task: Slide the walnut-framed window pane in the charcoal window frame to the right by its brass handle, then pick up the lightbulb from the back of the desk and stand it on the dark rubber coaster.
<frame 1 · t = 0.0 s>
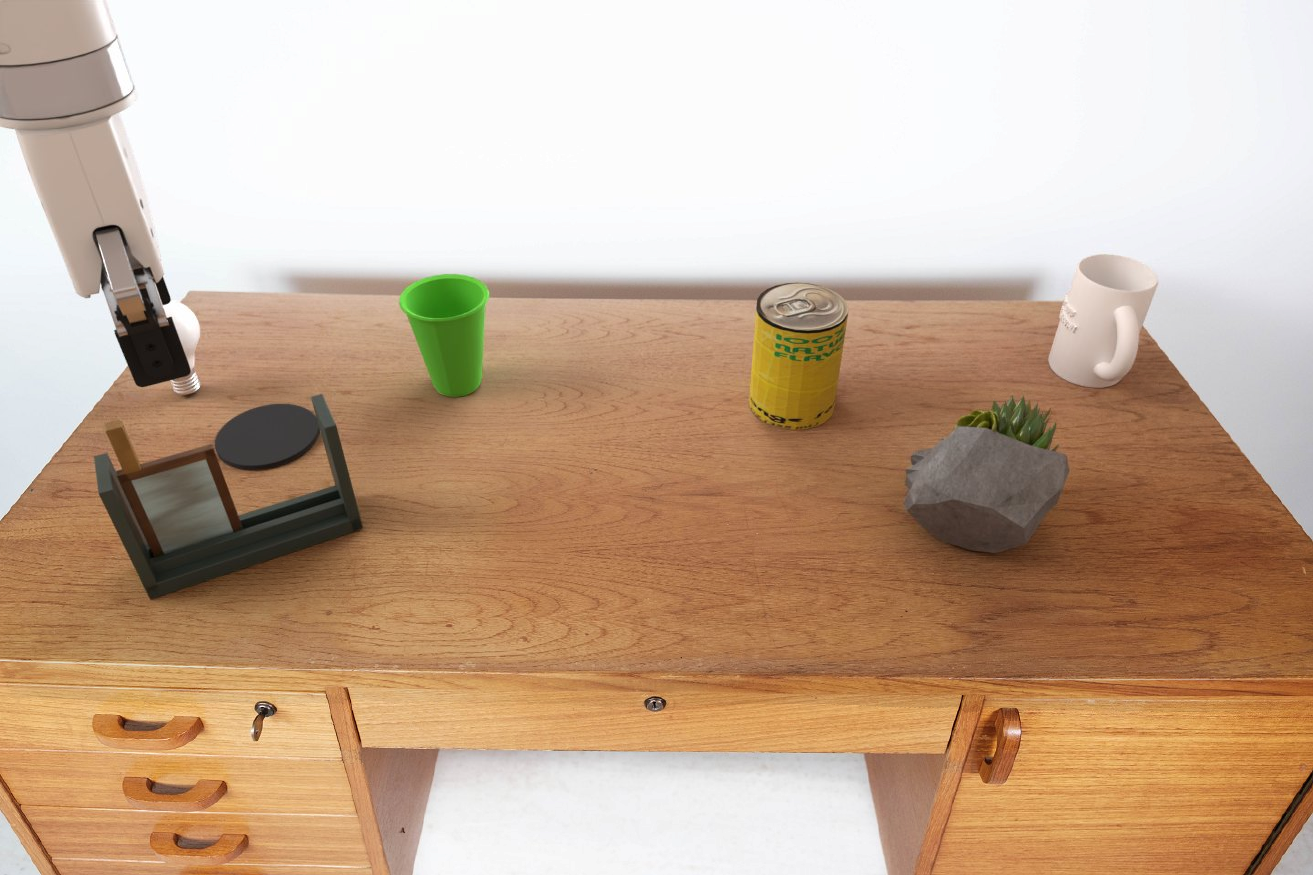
hand: (155, 341, 64), 26 cm above the table, tool pointing down, fingers open, 9 cm apart
mug: (1089, 379, 106), on the table
cup: (458, 385, 105), on the table
window sash: (175, 485, 79), point 9 cm above the table, slide at 0.0 cm
lightbulb: (189, 393, 104), on the table
beverage can: (791, 404, 102), on the table
window frame: (255, 544, 86), on the table
coaster: (268, 437, 98), on the table
potted plant: (971, 516, 89), on the table
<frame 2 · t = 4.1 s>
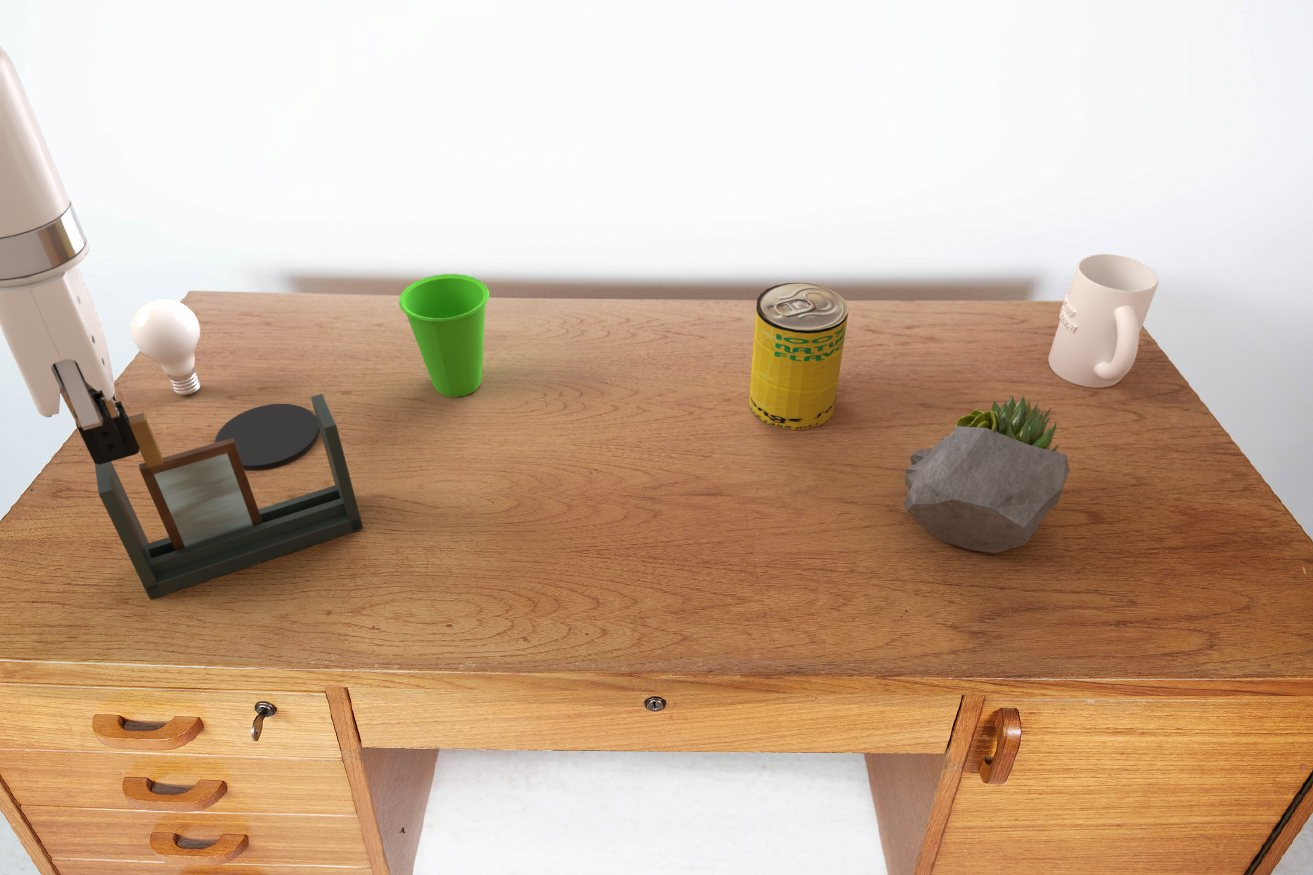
hand: (117, 453, 75), 13 cm above the table, tool pointing down, fingers closed
window sash: (197, 479, 79), point 9 cm above the table, slide at 1.7 cm, touching gripper
everything else where it was.
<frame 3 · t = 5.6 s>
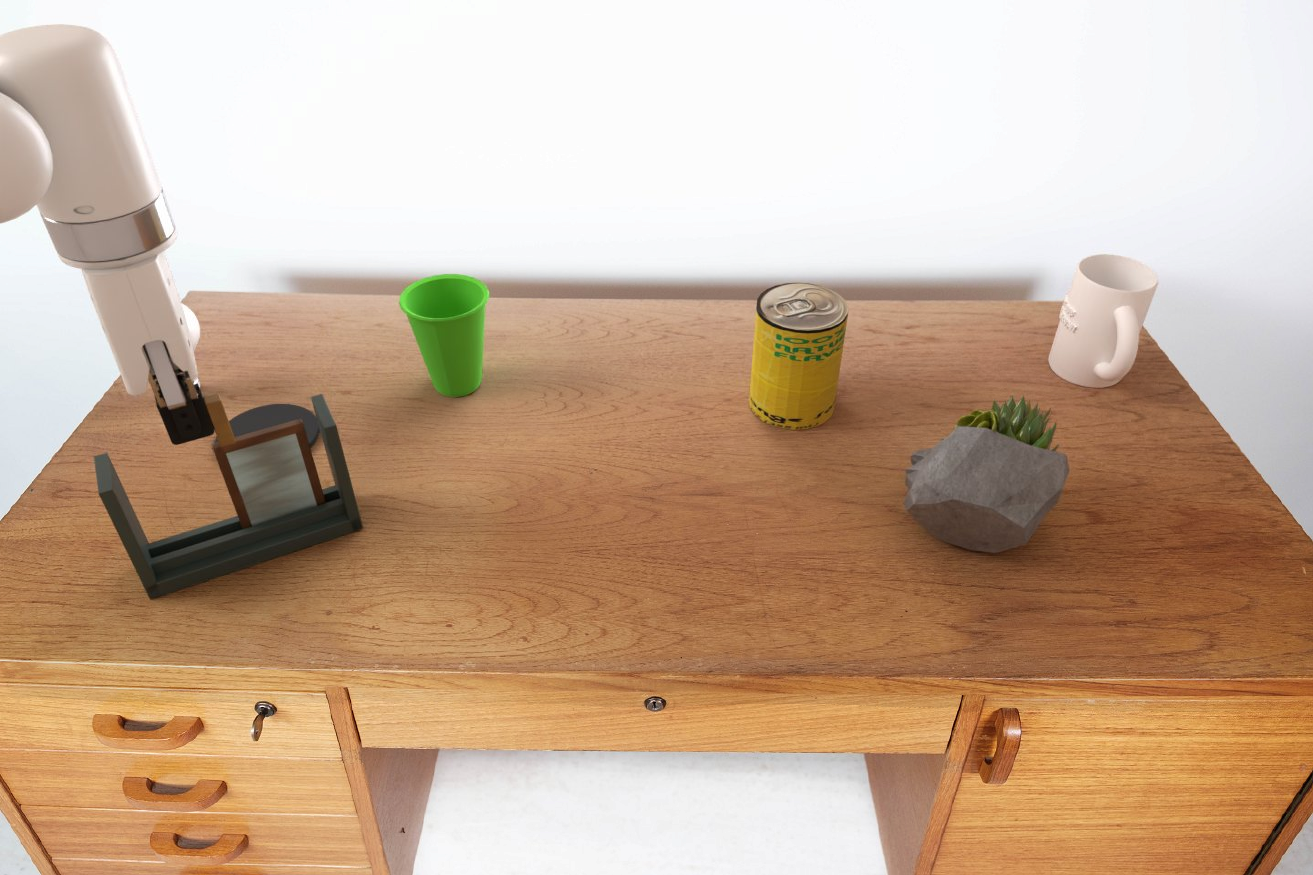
hand: (192, 434, 77), 13 cm above the table, tool pointing down, fingers closed
window sash: (266, 458, 81), point 9 cm above the table, slide at 7.2 cm, touching gripper
everything else where it was.
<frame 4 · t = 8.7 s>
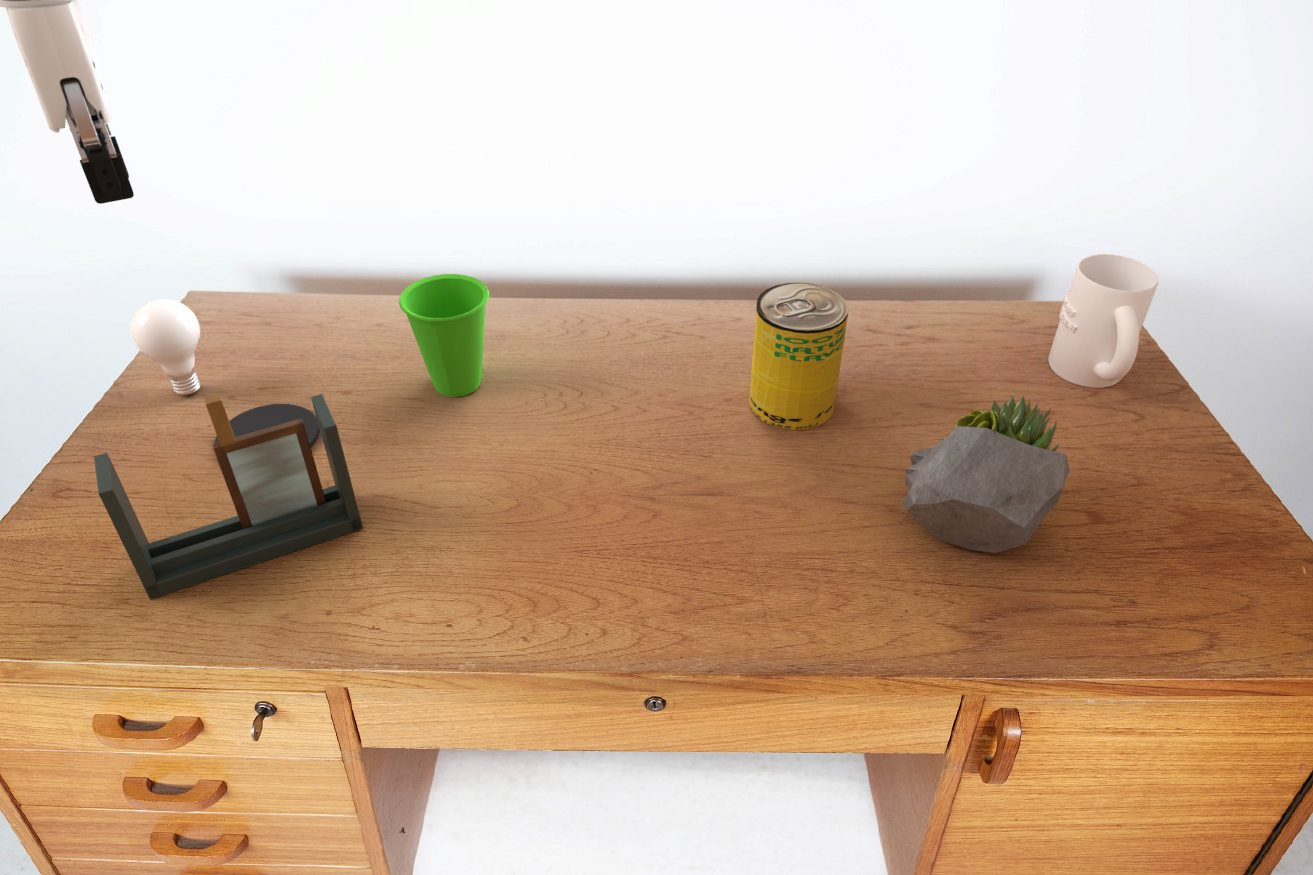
hand: (112, 188, 89), 23 cm above the table, tool pointing down, fingers open, 3 cm apart
window sash: (266, 458, 81), point 9 cm above the table, slide at 7.2 cm
everything else where it was.
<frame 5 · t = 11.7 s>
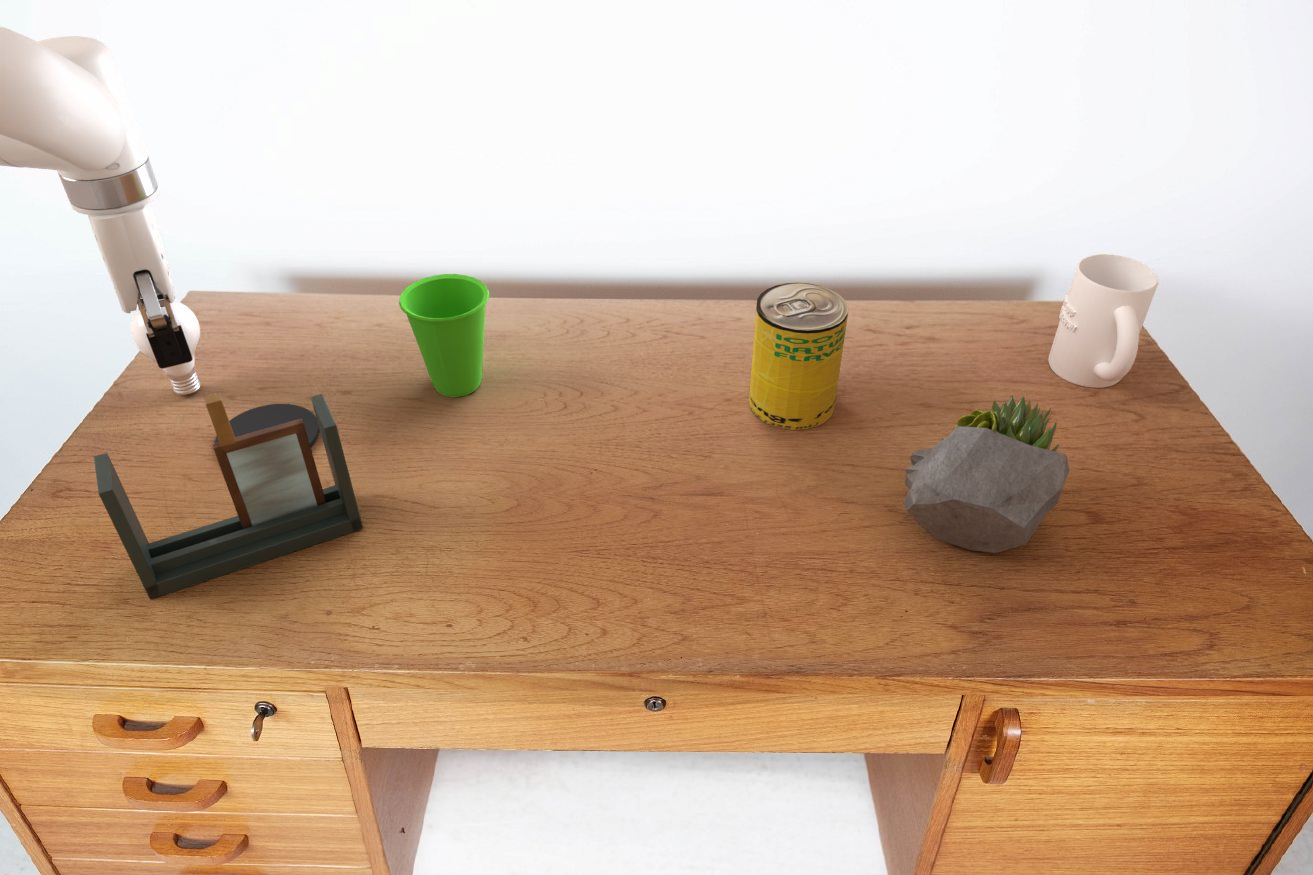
hand: (171, 345, 100), 6 cm above the table, tool pointing down, fingers closed on lightbulb, 6 cm apart
lightbulb: (189, 393, 104), on the table, touching gripper
everything else where it was.
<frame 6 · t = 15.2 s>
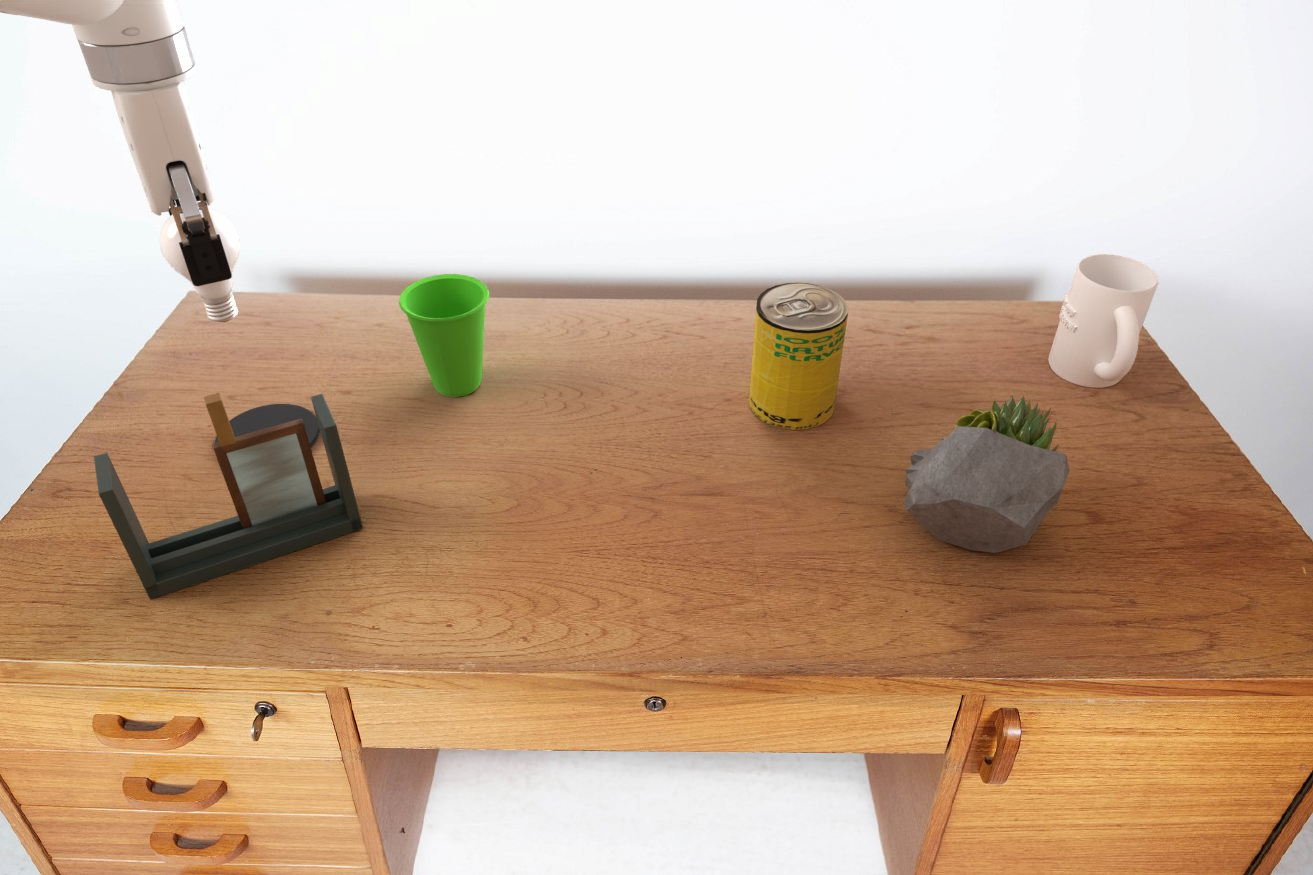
hand: (205, 261, 86), 20 cm above the table, tool pointing down, fingers closed on lightbulb, 6 cm apart
lightbulb: (225, 321, 89), point 13 cm above the table, touching gripper
everything else where it was.
when the fingers open (7 cm above the table, at t = 18.7 s): lightbulb stays where it is, resting on coaster.
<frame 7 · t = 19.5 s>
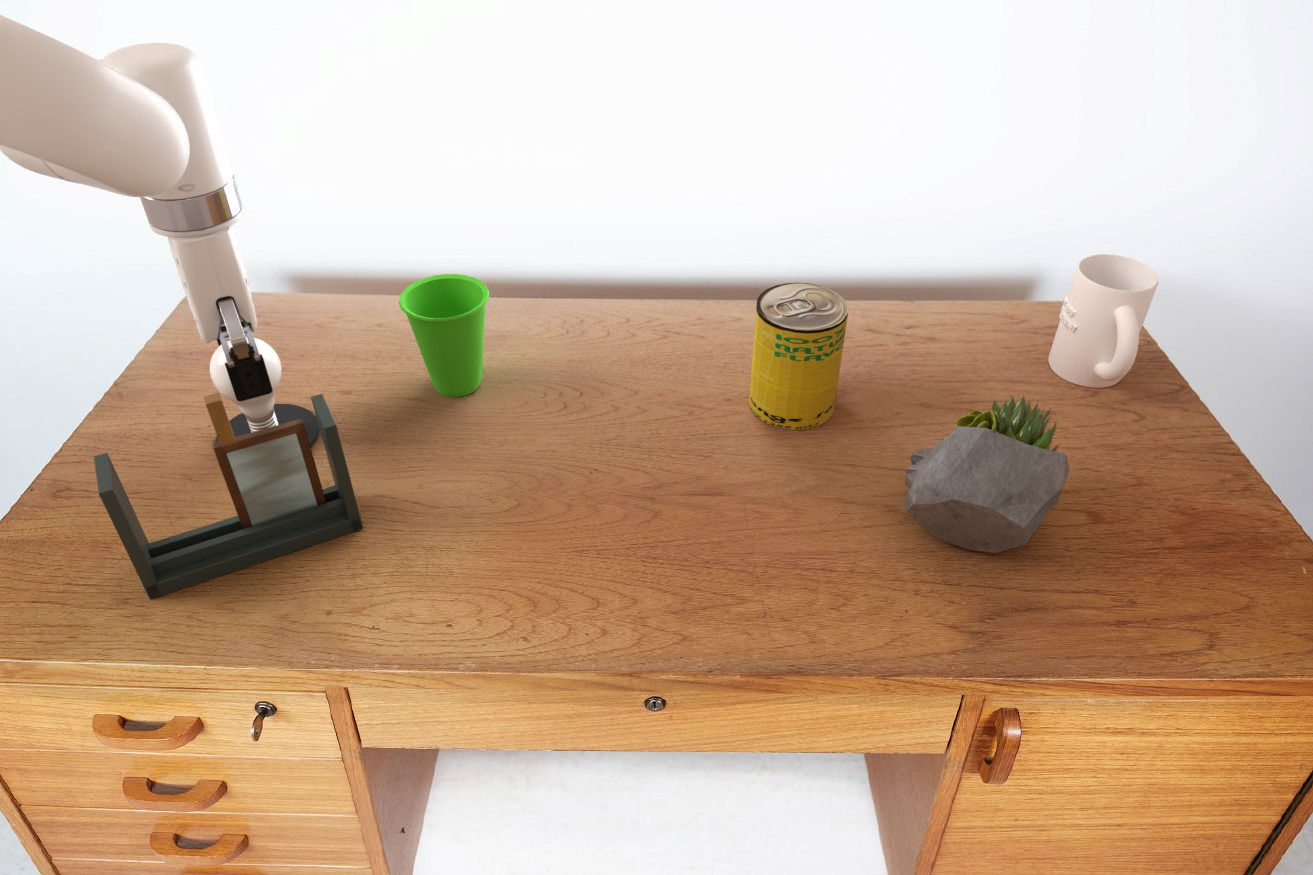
hand: (245, 369, 92), 9 cm above the table, tool pointing down, fingers open, 9 cm apart
lightbulb: (267, 435, 97), resting on coaster
everything else where it was.
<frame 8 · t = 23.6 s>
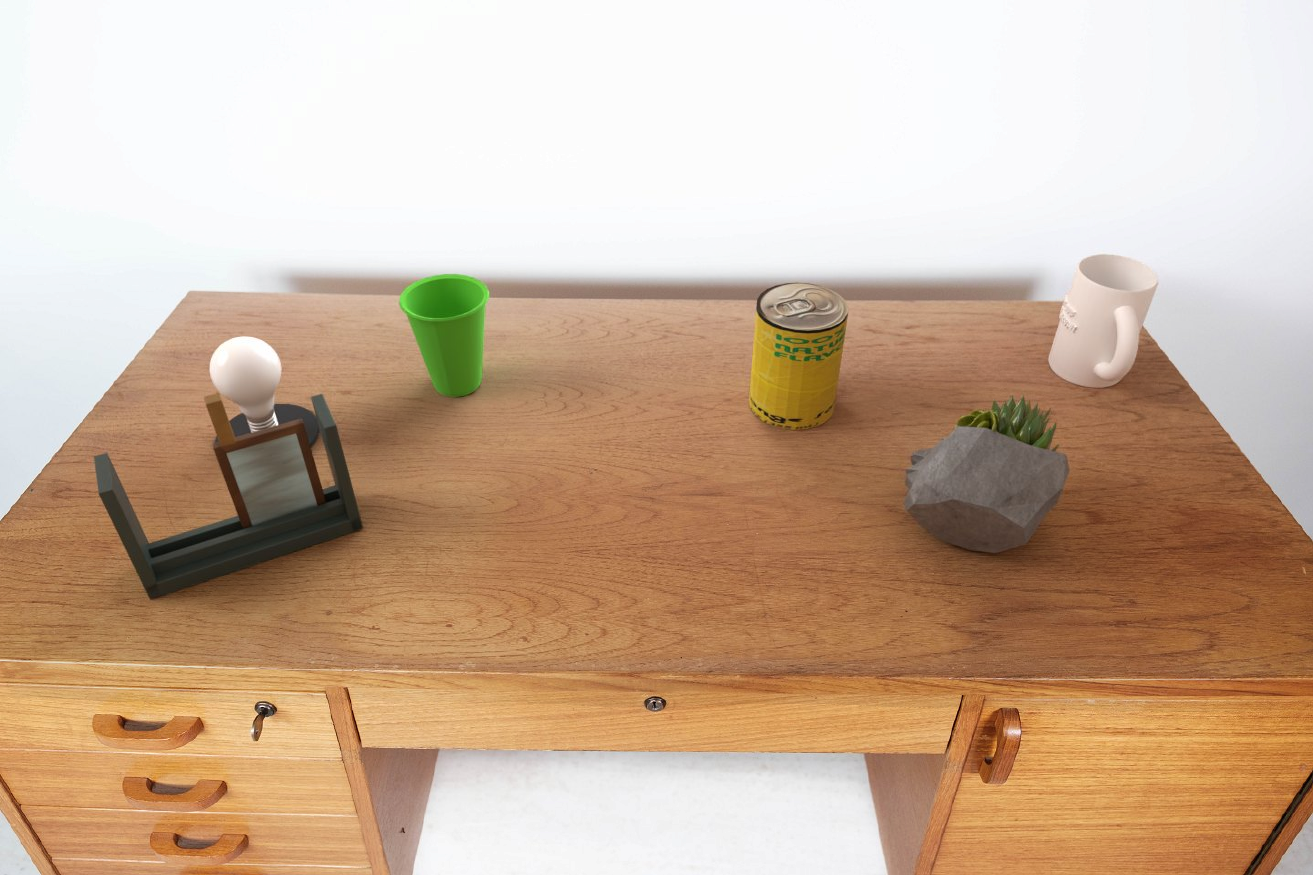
nothing on the table moved.
at the end: window sash slide at 7.2 cm; lightbulb inside the target area on the coaster (0.1 cm from its centre), point 0.4 cm above the coaster's base; lightbulb tilted 0° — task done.
